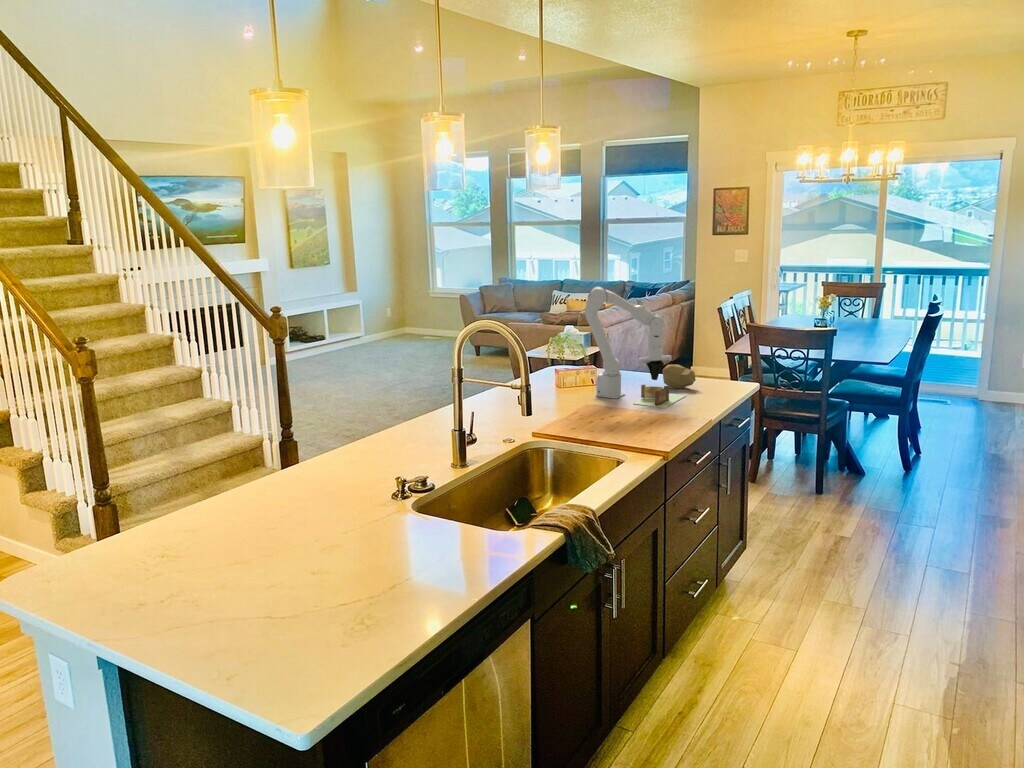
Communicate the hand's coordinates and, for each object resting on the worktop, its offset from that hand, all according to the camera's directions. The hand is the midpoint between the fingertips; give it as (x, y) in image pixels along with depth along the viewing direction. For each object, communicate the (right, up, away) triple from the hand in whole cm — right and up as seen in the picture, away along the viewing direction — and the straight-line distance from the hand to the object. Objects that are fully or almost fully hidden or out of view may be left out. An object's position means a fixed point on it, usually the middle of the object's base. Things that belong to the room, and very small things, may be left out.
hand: (654, 379), depth 305 cm
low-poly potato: (+13, -4, +15) cm, 20 cm away
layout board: (+1, -8, -5) cm, 10 cm away
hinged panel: (-2, -7, -4) cm, 9 cm away
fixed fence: (+1, -9, -10) cm, 13 cm away
